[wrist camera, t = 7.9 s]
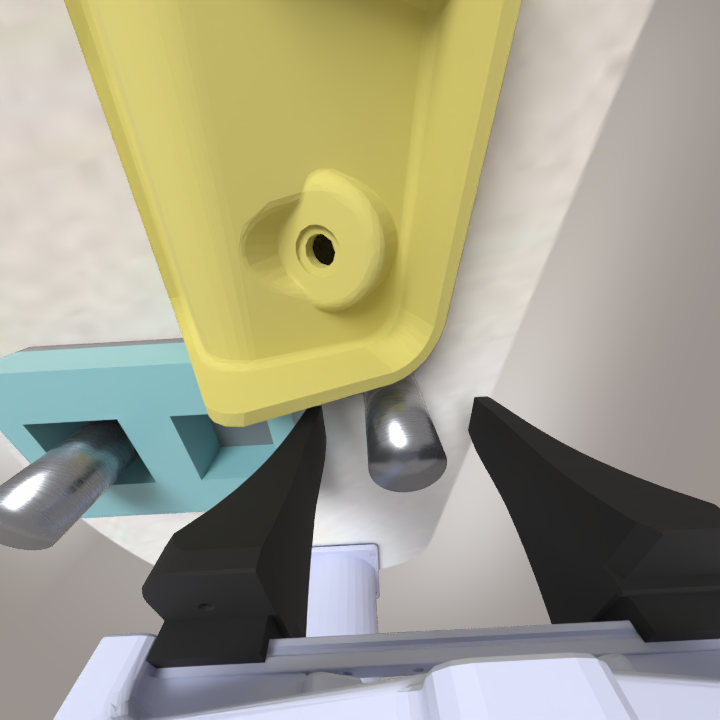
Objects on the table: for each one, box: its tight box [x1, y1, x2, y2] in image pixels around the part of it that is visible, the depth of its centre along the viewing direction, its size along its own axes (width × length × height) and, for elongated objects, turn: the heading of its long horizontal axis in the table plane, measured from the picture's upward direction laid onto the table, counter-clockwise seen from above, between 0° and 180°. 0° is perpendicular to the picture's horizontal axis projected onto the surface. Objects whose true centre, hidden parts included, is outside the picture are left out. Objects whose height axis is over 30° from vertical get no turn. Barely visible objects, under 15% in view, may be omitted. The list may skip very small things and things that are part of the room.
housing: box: [0, 338, 306, 518], centre depth 15 cm, size 10×14×3 cm
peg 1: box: [0, 419, 140, 550], centre depth 13 cm, size 3×3×6 cm
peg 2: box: [364, 373, 447, 492], centre depth 13 cm, size 3×3×6 cm
